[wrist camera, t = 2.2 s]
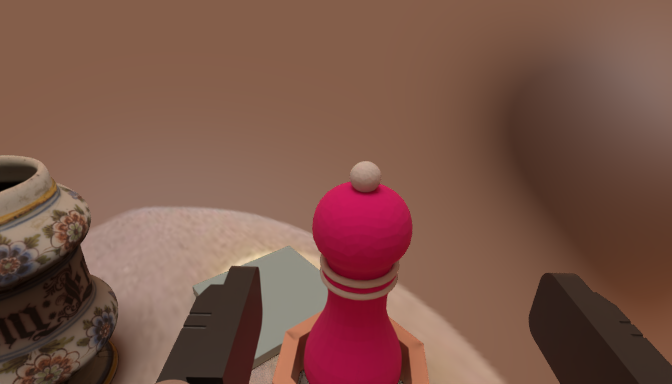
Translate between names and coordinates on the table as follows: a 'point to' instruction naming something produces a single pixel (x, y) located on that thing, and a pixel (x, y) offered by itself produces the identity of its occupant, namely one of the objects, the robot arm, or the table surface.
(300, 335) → the holder ring
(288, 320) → the board
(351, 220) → the pepper mill
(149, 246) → the table surface
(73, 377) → the apothecary jar
